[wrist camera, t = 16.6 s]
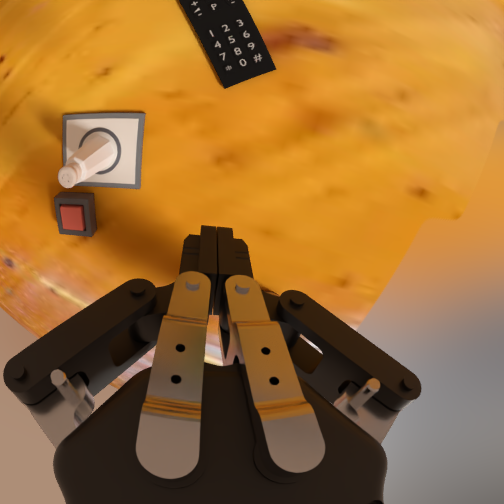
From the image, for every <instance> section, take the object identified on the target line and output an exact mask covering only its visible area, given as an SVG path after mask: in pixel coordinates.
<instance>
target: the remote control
mask: <svg viewBox="0 0 504 504" xmlns="http://www.w3.org/2000/svg"><path fill="white" fill-rule="evenodd" d="M179 1H180V3H181V5H182V7H183V8H184V10H185V12H186V14H187V16H188V18H189V19H190V21H191V23H192V25H193V27H194V29H195V31H196V33H197V35H198V36H199V38H200V40H201V42H202V44H203V46H204V48H205V50H206V52H207V54H208V56H209V58H210V60H211V62H212V64H213V66H214V68H215V70H216V72H217V74H218V76H219V78H220V80H221V82H222V84H223V86H224V88H225V89H226V88H228V87H230V86H233V85H235V84H238V83H240V82H243V81H245V80H248V79H251V78H253V77H256V76H259V75H262V74H264V73H267V72H270V71H273V70H276V67H275V65H274V63H273V61H272V58H271V56H270V54H269V52H268V50H267V48H266V45H265V43H264V41H263V39H262V37H261V35H260V33H259V31H258V29H257V27H256V25H255V23H254V21H253V19H252V17H251V15H250V13H249V11H248V9H247V7H246V6H245V4H244V2H243V0H179Z"/></svg>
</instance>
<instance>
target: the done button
mask: <svg viewBox="0 0 504 504" xmlns="http://www.w3.org/2000/svg"><path fill="white" fill-rule="evenodd" d="M60 211H61V218H62V224H63V229H69V230H80V231H83V230H84V229H85V227H86V224H85V215H84V206H83V205H76V204H63V205H62V206H61V207H60Z"/></svg>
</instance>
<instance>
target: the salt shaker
mask: <svg viewBox="0 0 504 504" xmlns="http://www.w3.org/2000/svg"><path fill="white" fill-rule="evenodd" d="M113 155H114V151H113V148H112V145H111V142H110V141H109V140H107V139H105V138H103V137H101V136H97V137H95V138H93V139H91V140H89V141H87V142H86V143H85V144H84V145H83V146H82V147H81V148H79V149H78V150H77V151H76V152H75V153H74V154H73V155H72V156H71V157H70V158H69V159H68V160H67V161H66V165H65V166H64V167H62V168H61V169H60V170H59V173H58V180H59V182H60V184H61V185H62V186H63V187H65V188H71V187H73V186H74V185H75V184H77V183H79V182H82V181H84V180H86V179H87V178H89V177H91V176H92V175H94V174H95V173H97V172H99V171H100V170H102V169H103V168H105V167H107V166H108V165H110V162H111V160H112V157H113Z"/></svg>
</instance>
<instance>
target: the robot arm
mask: <svg viewBox="0 0 504 504" xmlns="http://www.w3.org/2000/svg"><path fill="white" fill-rule="evenodd" d="M212 309H213V315H219V325H218V334H219V341H220V347H221V354H222V361H223V366H217V365H213V364H209V363H205V362H204V356H205V344H206V332H207V325H208V319H209V315H212ZM300 334H302V335H303V336H304V337H306V338H307V339H308V340H309V341H311V342H312V343H313V344H315V345H316V346H317V347H318V348H319V349H320V350H321V351H322V353H323V354H321V353H320V352H319V351H317V350H316V349H315V348H314V347H312V346H311V345H310V344H308V343H307V342H306V341H305V340H303V339H302V338H301V337H300ZM156 344H157V345H156ZM155 345H156V350H155V354H154V359H153V364H152V367H149V368H147V369H144V370H142V371H140V372H139V373H137V374H136V375H134V376H133V377H132V378H131V379H129V380H128V381H127V382H126V383H125V384H124V385H123V386H122V387H121V388H120V389H119V390H118V391H116V392H115V393H114V394H113V395H112V396H111V397H110V398H109V399H108V400H107V401H105V403H103V405H101V406H100V407H99V408H98V409H97V410H96V411H95V412H93V413H92V411H93V409H94V403H95V402H94V398H93V397H94V396H95V395H96V394H97V393H99V392H100V391H101V390H102V389H103V388H105V387H106V386H107V385H108V384H110V383H111V382H112V381H113V380H114V379H116V378H117V377H118V376H119V375H120V374H122V373H123V372H124V371H125V370H127V369H128V368H129V367H130V366H131V365H133V364H134V363H135V362H136V361H137V360H139V359H140V358H141V357H142V356H143V355H145V354H146V353H147V352H148V351H149V350H151V349H152V348H153V347H154V346H155ZM3 376H4V382H5V384H6V386H7V387H8V388H9V389H10V390H11V391H12V392H13V393H14V394H15V395H16V397H17V398H18V399H19V401H20V402H21V403H22V404H23V405H24V406H26V407H27V408H28V409H29V410H30V412H31V414H32V415H33V417H34V418H35V420H36V421H37V423H38V424H39V426H40V427H41V429H42V430H43V432H44V433H45V434H46V436H47V437H48V438H49V440H50V441H51V443H52V444H53V445H54V446H55V448H56V452H55V455H54V461H53V466H54V473H55V477H56V480H57V482H58V484H59V487H60V489H61V491H62V493H63V496H64V498H65V502H66V504H384V502H383V489H384V481H385V477H386V472H387V457H386V454H385V451H384V449H383V447H382V446H381V443H382V441H383V440H384V438H385V436H386V434H387V433H388V431H389V429H390V428H391V426H392V424H393V422H394V421H395V419H396V417H397V415H398V413H399V412H400V411H402V410H403V409H404V408H406V407H407V406H408V405H409V404H411V403H412V402H413V401H414V400H415V399H417V398H418V397H419V395H420V393H421V384H420V381H419V379H418V378H417V376H416V375H415V374H414V373H412V372H411V371H410V370H408V369H407V368H405V367H404V366H403V365H401V364H400V363H399V362H397V361H396V360H395V359H393V358H392V357H390V356H389V355H388V354H386V353H385V352H384V351H382V350H381V349H380V348H378V347H377V346H375V345H374V344H373V343H371V342H370V341H369V340H367V339H366V338H365V337H363V336H362V335H360V334H359V333H358V332H356V331H355V330H354V329H352V328H351V327H350V326H348V325H347V324H345V323H344V322H343V321H341V320H340V319H339V318H337V317H336V316H335V315H333V314H332V313H330V312H329V311H328V310H326V309H325V308H324V307H322V306H321V305H320V304H318V303H317V302H316V301H314V300H313V299H311V298H310V297H309V296H307V295H306V294H304V293H302V292H300V291H296V290H288V291H285V292H283V293H282V294H281V296H279V295H277V294H275V293H273V292H267V291H265V292H264V291H263V290H261V289H260V286H259V284H258V283H257V281H255V280H254V278H253V273H252V268H251V262H250V257H249V251H248V246H247V245H246V243H245V242H244V241H243V240H242V239H235V238H233V230H232V228H226V227H217V230H216V227H215V226H205V225H201V233H200V235H190V234H189V236H188V237H187V238H186V239H185V240H184V245H183V251H182V258H181V265H180V272H179V276H178V277H177V278H176V280H175V282H173V283H172V284H170V285H167V286H163V287H157V288H155V286H154V285H153V283H151V282H150V281H148V280H145V279H132V280H129V281H127V282H125V283H124V284H122V285H121V286H119V287H117V288H116V289H114V290H113V291H111V292H109V293H108V294H106V295H105V296H103V297H101V298H100V299H98V300H97V301H95V302H94V303H92V304H91V305H89V306H87V307H86V308H84V309H83V310H81V311H80V312H78V313H77V314H75V315H74V316H72V317H71V318H69V319H68V320H66V321H65V322H63V323H62V324H60V325H59V326H57V327H56V328H54V329H53V330H51V331H50V332H48V333H47V334H45V335H44V336H43V337H41V338H40V339H38V340H37V341H35V342H34V343H32V344H31V345H30V346H28V347H27V348H25V349H24V350H23V351H21V352H20V353H18V354H17V355H16V356H14V357H13V358H11V359H10V360H9V361H8V362H7V364H6V366H5V368H4V373H3ZM325 398H326V399H325ZM330 402H331V403H332V404H331V403H330ZM91 413H92V414H91ZM90 414H91V415H90ZM89 415H90V416H89Z"/></svg>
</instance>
